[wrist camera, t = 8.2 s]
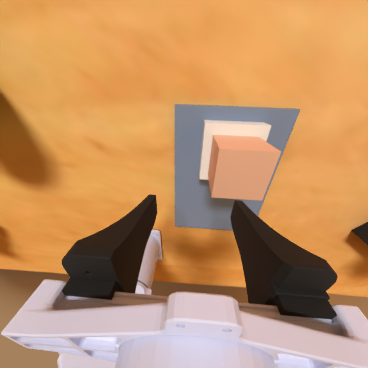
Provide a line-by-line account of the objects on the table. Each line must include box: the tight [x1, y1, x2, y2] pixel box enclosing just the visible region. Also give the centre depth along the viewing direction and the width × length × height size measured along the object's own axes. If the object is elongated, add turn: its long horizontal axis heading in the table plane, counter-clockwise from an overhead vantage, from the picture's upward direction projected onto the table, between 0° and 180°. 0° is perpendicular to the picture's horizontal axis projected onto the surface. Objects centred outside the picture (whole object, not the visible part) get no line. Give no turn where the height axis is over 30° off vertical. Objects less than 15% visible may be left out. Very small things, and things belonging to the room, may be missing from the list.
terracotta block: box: [208, 135, 281, 201], centre depth 15 cm, size 5×5×5 cm
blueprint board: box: [175, 104, 300, 231], centre depth 21 cm, size 20×14×3 cm
